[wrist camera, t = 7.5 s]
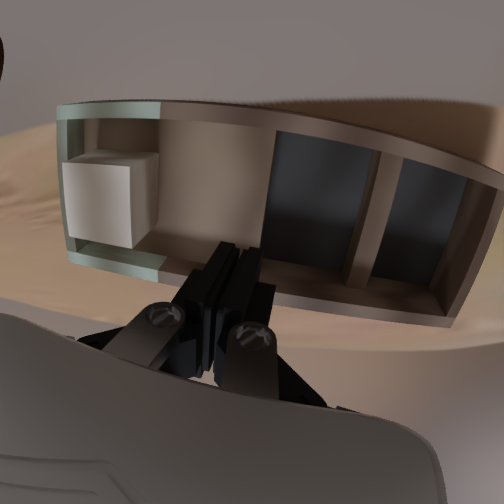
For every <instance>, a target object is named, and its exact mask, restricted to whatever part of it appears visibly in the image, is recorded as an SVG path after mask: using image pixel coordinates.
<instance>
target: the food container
mask: <svg viewBox="0 0 504 504" xmlns="http://www.w3.org/2000/svg"><path fill="white" fill-rule="evenodd" d="M3 64H4V49H3V43H2V40H1V38H0V80H1V76H2V71H3Z"/></svg>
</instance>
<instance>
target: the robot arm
mask: <svg viewBox="0 0 504 504" xmlns="http://www.w3.org/2000/svg"><path fill="white" fill-rule="evenodd" d="M263 253H264V249H261V248H256V247H249V249H248V250H247V249H243V251H242V254H241V256H240V258H239V254H240V248H236V247H235V243H229V242H224V241H221V242H220V243H219V245H218V246H217V248H216V250H215V251H214V253H213V254H212V256H211V257H210V259H209V261H208V262H207V264H206V265H205V267H204V269H203V270H200V269H193V270H192V271H191V273H190V274H189V276H188V277H187V279H186V280H185V282H184V283H183V285H182V286H181V288H180V289H179V291H178V292H177V294H176V295H175V297H174V298H173V300H172V301H171V303H170V302H156V303H153V304H150V305H148V306H147V307H145V308H144V309H143V310H142V311H141V312H140V313H139V314H138V315H137V316H136V317H135V318H134V319H133V320H131V321H130V322H129V323H128V324H127V325H126V326H124V327H120V328H116V329H113V330H108V331H104V332H101V333H96V334H92V335H88V336H85V337H82V338H79V339H78V340H77V341H76V340H75V338H74V337H70V336H65V335H61V334H59V333H56V332H54V331H52V330H49V329H47V328H45V327H42V326H40V325H37V324H35V323H33V322H30V321H28V320H26V319H23V318H19V317H17V316H13V315H9V314H4V313H0V504H447V496H446V488H445V483H444V478H443V473H442V470H441V466H440V463H439V460H438V457H437V454H436V452H435V450H434V448H433V446H432V445H431V444H430V442H429V441H428V440H427V439H426V438H424V437H423V436H422V435H421V434H419V433H417V432H416V431H414V430H412V429H410V428H408V427H406V426H403V425H401V424H399V423H396V422H394V421H390V420H387V419H383V418H380V417H377V416H371V415H366V414H363V413H360V412H356V411H353V410H350V409H346V408H343V407H340V406H337V407H336V408H332V407H329V406H327V404H326V402H325V401H324V400H323V398H322V397H321V396H320V395H319V394H317V392H315V391H314V390H313V389H312V388H311V387H310V386H309V385H308V384H307V383H306V382H305V381H304V380H303V379H302V378H301V377H300V376H299V375H298V374H297V373H296V372H295V371H294V370H293V369H292V368H291V367H290V366H289V365H288V364H287V363H286V362H285V361H284V360H283V359H282V358H281V357H280V356H279V355H278V354H277V339H276V335H275V333H274V332H273V331H272V330H271V329H270V328H269V327H268V324H269V320H270V315H271V310H272V305H273V300H274V295H275V290H276V285H274V284H268V283H263V282H259V278H260V272H261V265H262V259H263ZM213 360H214V363H213ZM212 363H213V373H214V381H215V382H216V384H217V385H218V386H219V387H216V386H213V385H209V384H204V383H201V382H197V381H193V380H190V379H188V378H191V377H197V378H201V377H202V375H203V372H204V371H209V370H210V368H211V366H212Z"/></svg>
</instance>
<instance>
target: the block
mask: <svg viewBox="0 0 504 504" xmlns="http://www.w3.org/2000/svg"><path fill="white" fill-rule="evenodd" d="M158 165H159V153H151V152H137V151H121V150H99V149H97V150H94V151H91V152H88V153H85V154H83V155H80V156H77V157H75V158H72V159H70V160H67V161H64V162H62V171H63V186H64V198H65V208H66V217H67V225H68V232H69V236H70V237H75V238H80V239H85V240H90V241H95V242H100V243H105V244H110V245H115V246H120V247H125V248H130V249H133V248H134V247H135V245H136V244H137V243H138V242H139V241H140V240H141V239H142V238H143V237H144V236H145V235H146V234H147V233H148V232H149V231H150V230H151V229H152V228H153V227H154V226H155V225H156V224H157V223H158Z"/></svg>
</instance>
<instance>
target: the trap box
mask: <svg viewBox="0 0 504 504" xmlns="http://www.w3.org/2000/svg"><path fill="white" fill-rule="evenodd" d="M97 149H99V150H121V151H137V152H151V153H159V165H158V223H157V224H156V225H155V226H154V227H153V228H152V229H151V230H150V231H149V232H148V233H147V234H146V235H145V236H144V237H143V238H142V239H141V240H140V241H139V242H138V243H137V244H136V245H135V247H134V248H133V249H130V248H125V247H120V246H115V245H110V244H105V243H100V242H95V241H90V240H85V239H80V238H75V237H70V236H69V232H68V225H67V217H66V208H65V198H64V186H63V171H62V162H64V161H67V160H70V159H72V158H75V157H77V156H80V155H83V154H85V153H88V152H91V151H94V150H97ZM57 162H58V178H59V191H60V201H61V210H62V219H63V226H64V233H65V240H66V246H67V252H68V258H69V262H72V263H76V264H80V265H84V266H88V267H92V268H96V269H101V270H105V271H109V272H113V273H118V274H122V275H127V276H131V277H135V278H140V279H145V280H149V281H154V282H158V283H163V284H168V285H173V286H178V287H181V286H182V285H183V283H184V282H185V280H186V279H187V277H188V276H189V274H190V273H191V271H192V270H193V269H200V270H203V269H204V267H205V265H206V264H207V262H208V261H209V259H210V257H211V256H212V254H213V253H214V251H215V250H216V248H217V246H218V245H219V243H220V242H221V241H224V242H229V243H235V247H236V248H240V254H239V258H240V256H241V254H242V251H243V249H247V250H248V249H249V247H256V248H261V249H264V253H263V259H262V265H261V272H260V278H259V282H263V283H268V284H274V285H276V290H275V295H274V300H273V304H274V305H280V306H286V307H292V308H298V309H304V310H311V311H317V312H324V313H331V314H337V315H344V316H352V317H359V318H366V319H374V320H382V321H390V322H398V323H406V324H415V325H424V326H433V327H443V328H451V326H452V324H453V322H454V320H455V318H456V317H457V315H458V313H459V311H460V309H461V307H462V305H463V303H464V301H465V299H466V297H467V295H468V293H469V291H470V289H471V287H472V285H473V283H474V281H475V278H476V276H477V274H478V272H479V270H480V267H481V265H482V263H483V260H484V258H485V255H486V253H487V251H488V248H489V246H490V243H491V240H492V238H493V235H494V232H495V230H496V227H497V224H498V221H499V218H500V215H501V212H502V209H503V206H504V175H503V174H501V173H499V172H497V171H495V170H493V169H491V168H489V167H487V166H485V165H483V164H481V163H479V162H476V161H474V160H471V159H468V158H466V157H463V156H460V155H458V154H455V153H452V152H449V151H447V150H444V149H441V148H438V147H435V146H432V145H429V144H426V143H423V142H419V141H416V140H413V139H410V138H406V137H403V136H399V135H396V134H392V133H389V132H385V131H381V130H377V129H373V128H370V127H365V126H361V125H357V124H353V123H348V122H344V121H339V120H335V119H330V118H325V117H320V116H314V115H309V114H303V113H297V112H291V111H285V110H278V109H271V108H264V107H256V106H247V105H238V104H228V103H216V102H202V101H184V100H103V101H89V102H80V103H74V104H66V105H59V106H57Z"/></svg>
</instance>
